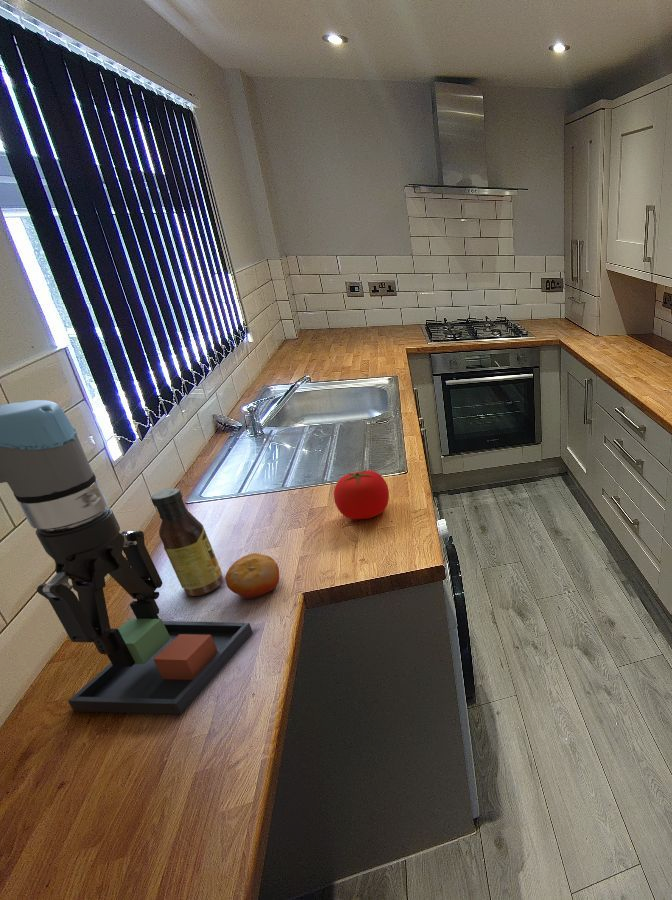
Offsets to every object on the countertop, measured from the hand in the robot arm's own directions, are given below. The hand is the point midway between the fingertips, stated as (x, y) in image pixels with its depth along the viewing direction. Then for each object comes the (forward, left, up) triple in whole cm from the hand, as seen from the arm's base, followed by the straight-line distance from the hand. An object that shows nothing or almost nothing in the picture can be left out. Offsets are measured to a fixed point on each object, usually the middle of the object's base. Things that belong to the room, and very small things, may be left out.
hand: (140, 649), depth 79 cm
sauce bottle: (-6, +19, -4) cm, 20 cm away
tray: (+3, 0, -4) cm, 5 cm away
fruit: (+5, +18, -4) cm, 19 cm away
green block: (0, 0, 0) cm, 0 cm away
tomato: (+13, +45, -4) cm, 47 cm away
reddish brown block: (+7, 0, -3) cm, 8 cm away
